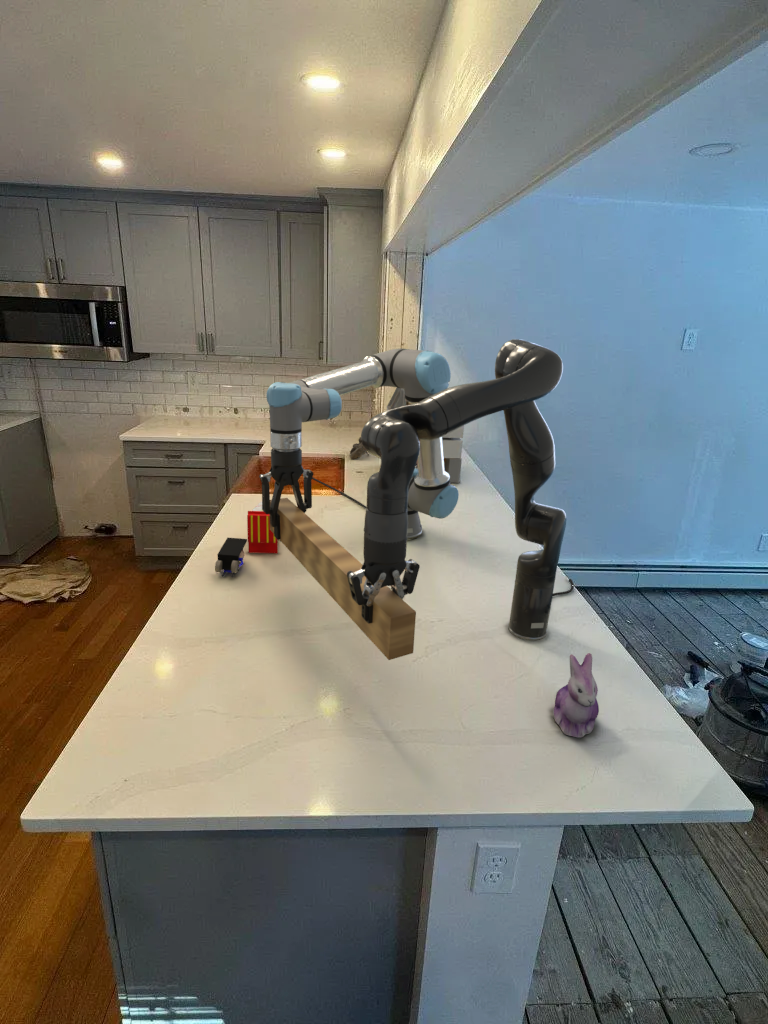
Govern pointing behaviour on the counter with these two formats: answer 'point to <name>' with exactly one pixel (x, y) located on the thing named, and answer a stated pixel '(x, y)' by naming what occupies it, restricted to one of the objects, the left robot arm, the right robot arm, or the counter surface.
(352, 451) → the fossil
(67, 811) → the counter surface
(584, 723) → the figurine
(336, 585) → the bar
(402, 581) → the right robot arm
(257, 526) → the toy
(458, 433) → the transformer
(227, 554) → the figurine character
